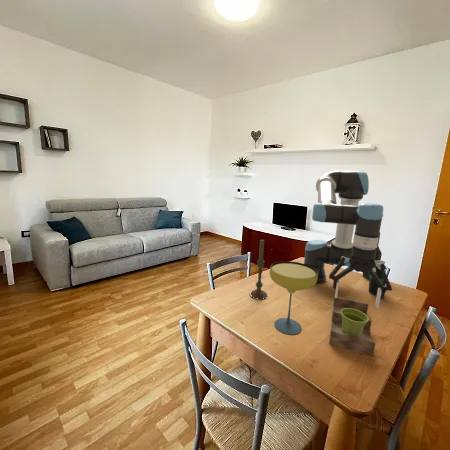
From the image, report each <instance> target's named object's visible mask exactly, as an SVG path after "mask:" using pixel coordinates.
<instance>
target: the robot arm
mask: <svg viewBox="0 0 450 450" xmlns="http://www.w3.org/2000/svg"><path fill="white" fill-rule="evenodd" d="M369 184H370V183H369V175H368V173H367V172H365V171H358V170H333V171H329V172H326V173H324V174H322V175H321V176H320V177H319V178H318V179H317V180H316V182H315V190H316V192H317V203H314V204H313V208H312V217H311V218H312V221H314V222H319V223H330V224H336V228H335V229H336V230H335V235H334V236H335V237H334V239H333V240H332V241H331V242H330V243H328V241H326V240H322V239H312V240H309V241H307V242H306V244H305V248H304V249H305V251H304V252H305V253H304V261H303V264H306V265H308V266H311V267H312V268H314V269H315V270H316V271H317V274H318V278H317V282H316V284H319V283H325V282H326V280H327V274H326V270H325V264H328V265H335V267H334V268H333V269H332V270H331V272H330V273H329V274H328V275H329V276H328V278H329V279H330V280H332V281H333V282H332V284H333V285H332V289H334V290H335V294H334V296H335V298H337V297H338V294H339V293H338V292H339V286H340V280H341V279H342V278H344V277H345V276H346V275H348V274H350V273H351V272H353V271H355V272H356V273H357V272H358V273H362V274H363V273H367V272H369V274H370V275H371V276H372V278H373V279H374V280H375V282H376V283H377V284H378V286H379V287H380V288H378V292H377V295H376V299H375V303H374V305H375V308H376V309H377V308H379V307H380V302H381V299H382V300H384V299H385V294H386V292H387V291H389V292H392V291H393V288H392V285H391V283H390V280H389V278H388V275H387V272H386V271H385V270H386V269H385V266H386V265H385V264H384V263H383V262H380V263H375V256H376V249H375V248H377V244H378V238H379V233H380V234H381V232H380V231H381V226H382V221H383V217H384V206H383V205H382V204H377V203H372V202H371V203H370V202H362V203H360V201H362V200H363V198H364V196H366V195H368V193H369V189H370V188H369ZM336 194H338V198H339V199H340V204H338V203H337V196H336ZM359 203H360V204H359ZM379 239H380V238H379ZM352 240H353V242H352ZM378 245H379V244H378ZM375 266H377V267H378V269H380V270H381V273H382V275H383V278H384V280H385V283H386V284H385V286H384V285H383V284H382V282H381V281H380V279H379V278H378V277H377V275H376V274H375V273H374V271H373V270H372V269H373V268H374V267H375ZM342 267H346V268H344V269H343V270H342V271H341V272H339V271H340V269H341V268H342ZM337 273H338V274H337Z"/></svg>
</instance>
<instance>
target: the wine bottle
mask: <svg viewBox="0 0 450 450" xmlns="http://www.w3.org/2000/svg"><path fill="white" fill-rule="evenodd" d="M380 237H381V232H380V233H379V238H378V244H377V248H375V249H376V256H375V263H377V260H381V259H382V255H383V253H382V251H381V249H380V247H379V244H380V239H381V238H380ZM381 261H382V260H381ZM372 270H373V271H374V272H376V268H375V267H374V268H373V269H372ZM362 274H363V276H362V277H363V278H365V279H367V280H369V277H370V274H369V272H367V273H363V272H362Z"/></svg>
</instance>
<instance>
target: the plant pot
mask: <svg viewBox="0 0 450 450" xmlns="http://www.w3.org/2000/svg"><path fill="white" fill-rule="evenodd" d="M341 314H342V333H344V334H348V335H351V336H355V337H358V338H360V336H361V333H362V331H363V328H364V325H365V324H366V322H368V320H370V319H369V315H368V314H367V315H366V314H364V313H363V312H361V311H359V310H356V309H352V308H344V309H342V310H341Z"/></svg>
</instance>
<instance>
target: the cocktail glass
mask: <svg viewBox="0 0 450 450" xmlns="http://www.w3.org/2000/svg"><path fill="white" fill-rule="evenodd" d="M269 278H271V281H273V282H274V283H275V284H276V285H277V286H279V287H282V288H283V289H285V290H286V291H287V292H288V293H289V302H288V303H289V304H288V311H287V317H280V318H278V319H276V320H275V321H274V328H275V329H276V330H277V331H279V332H281V333H282V334H285V335H293V336H294V335H298V334H299V333H300V332H302V329H303V328H302V325H301V324H300V323H299V322H298V321H296V320H294V319H292V318H291V305H292V297H293V294H294V293H296V292H297V291H304V290H307V289H311V288H313V287H314V286H315V285H316V284H317V283H316V282H317V278H318V274H317V271H316V270H315V269H314V268H312V267H311V266H308V265H306V264H304V263H301V262H298V261H297V262H296V261H288V260H287V261H286V260H284V261H277V262H273V263H272V264H271V265H270V267H269Z"/></svg>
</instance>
